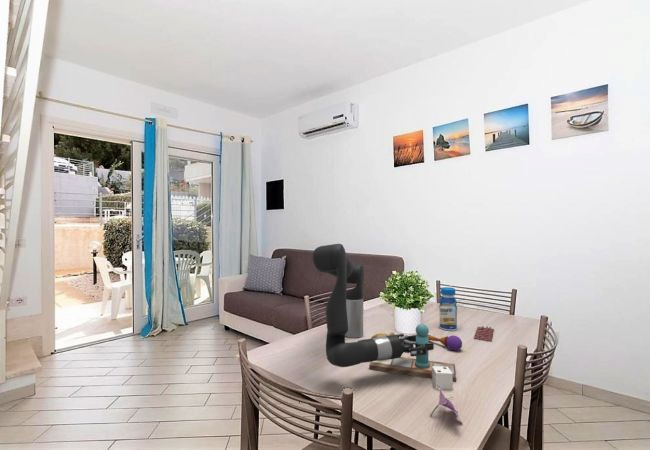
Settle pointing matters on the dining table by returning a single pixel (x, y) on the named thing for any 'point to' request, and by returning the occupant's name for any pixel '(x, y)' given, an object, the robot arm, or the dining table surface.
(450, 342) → the kendama
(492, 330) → the chocolate bar
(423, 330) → the pawn
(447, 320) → the beverage bottle
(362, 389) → the dining table surface
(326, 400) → the dining table surface
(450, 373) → the die
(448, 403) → the lily
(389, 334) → the crab model
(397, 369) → the board
